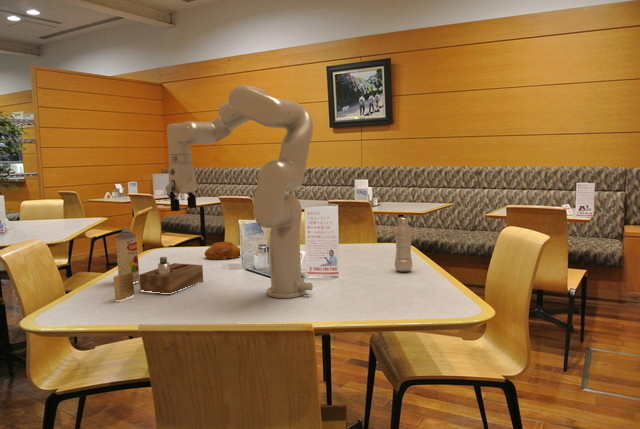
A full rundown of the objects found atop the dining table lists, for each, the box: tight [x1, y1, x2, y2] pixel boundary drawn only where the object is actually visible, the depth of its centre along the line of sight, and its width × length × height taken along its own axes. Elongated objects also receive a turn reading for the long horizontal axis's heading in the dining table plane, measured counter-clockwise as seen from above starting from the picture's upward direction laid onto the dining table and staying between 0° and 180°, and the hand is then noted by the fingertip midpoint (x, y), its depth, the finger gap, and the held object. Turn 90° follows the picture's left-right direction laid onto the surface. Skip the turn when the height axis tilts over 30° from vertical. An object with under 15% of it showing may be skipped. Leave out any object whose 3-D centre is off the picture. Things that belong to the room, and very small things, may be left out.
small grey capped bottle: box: [157, 256, 170, 274], centre depth 165 cm, size 4×4×11 cm
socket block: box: [139, 262, 204, 293], centre depth 169 cm, size 12×18×6 cm, turn 158°
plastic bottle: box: [394, 216, 413, 273], centre depth 182 cm, size 6×7×20 cm
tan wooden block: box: [113, 272, 135, 300], centre depth 155 cm, size 2×6×8 cm, turn 158°
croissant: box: [204, 241, 241, 260], centre depth 219 cm, size 14×16×8 cm
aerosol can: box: [115, 226, 140, 282], centre depth 175 cm, size 7×7×20 cm
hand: (184, 209), depth 173 cm, fingers open, 9 cm apart
